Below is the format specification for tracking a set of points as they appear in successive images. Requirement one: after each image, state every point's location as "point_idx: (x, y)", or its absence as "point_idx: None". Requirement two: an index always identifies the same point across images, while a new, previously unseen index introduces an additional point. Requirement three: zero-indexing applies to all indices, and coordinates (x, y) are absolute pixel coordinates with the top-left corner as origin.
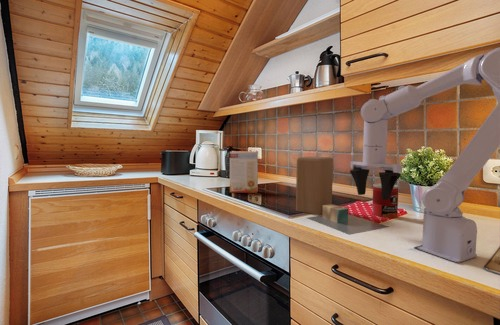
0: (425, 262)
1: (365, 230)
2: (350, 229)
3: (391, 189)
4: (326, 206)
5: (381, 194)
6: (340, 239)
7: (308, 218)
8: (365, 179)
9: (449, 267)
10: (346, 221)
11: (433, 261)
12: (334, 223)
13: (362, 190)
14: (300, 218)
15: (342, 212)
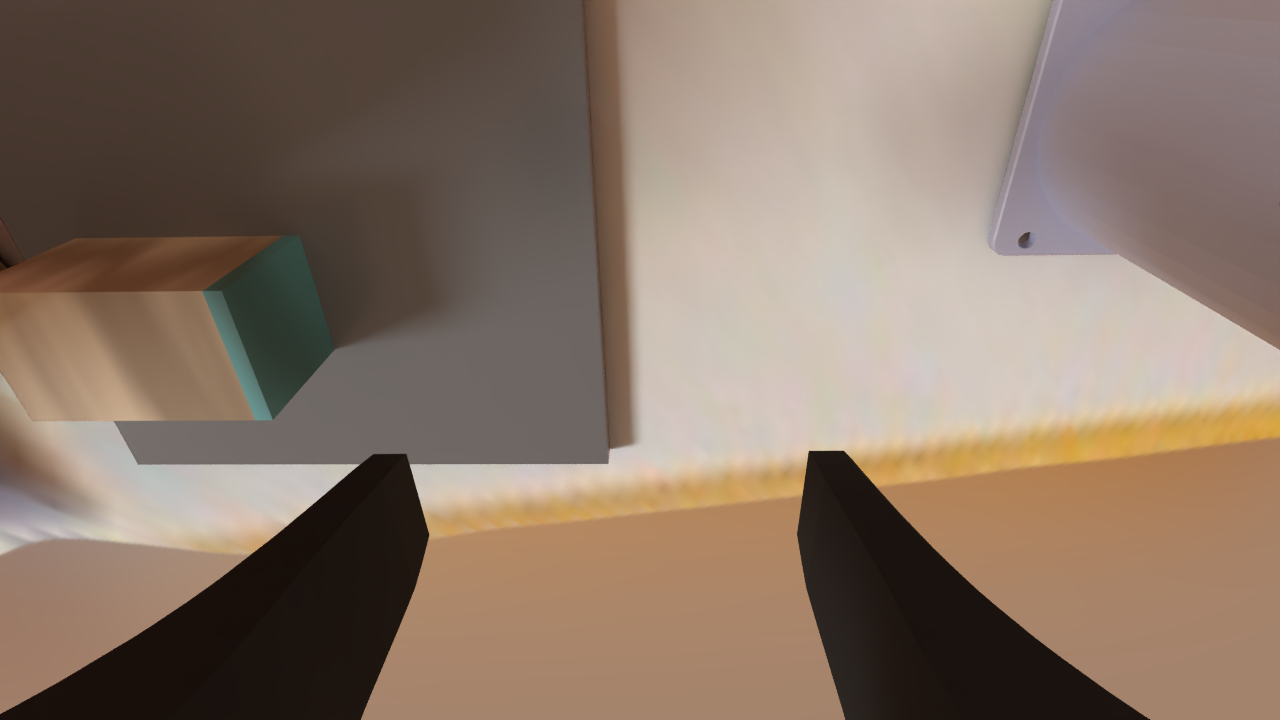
0: (1116, 387)
1: (582, 300)
2: (518, 382)
3: (925, 564)
4: (89, 419)
5: (812, 606)
6: (615, 508)
7: (159, 459)
8: (263, 672)
9: (1245, 337)
10: (303, 256)
11: (1152, 336)
12: (337, 380)
13: (394, 546)
14: (90, 454)
15: (271, 356)
